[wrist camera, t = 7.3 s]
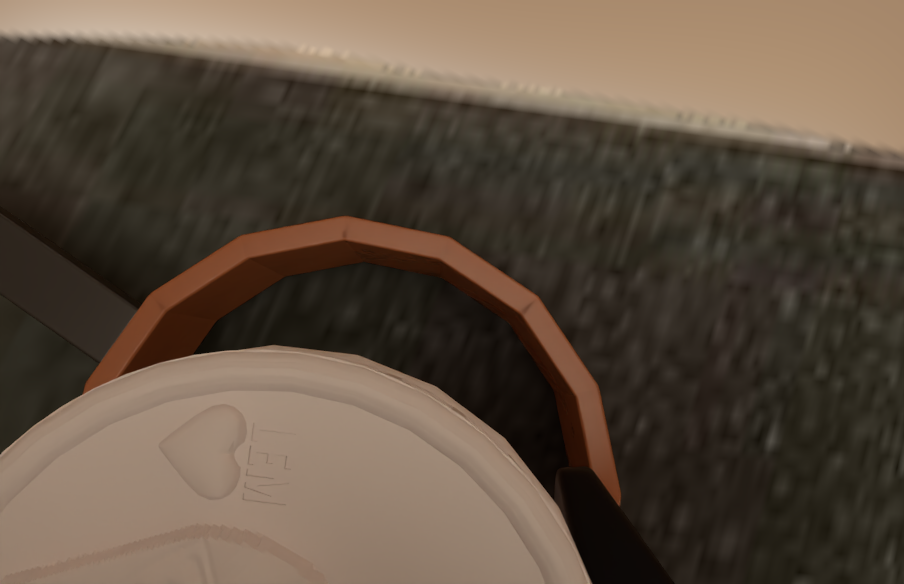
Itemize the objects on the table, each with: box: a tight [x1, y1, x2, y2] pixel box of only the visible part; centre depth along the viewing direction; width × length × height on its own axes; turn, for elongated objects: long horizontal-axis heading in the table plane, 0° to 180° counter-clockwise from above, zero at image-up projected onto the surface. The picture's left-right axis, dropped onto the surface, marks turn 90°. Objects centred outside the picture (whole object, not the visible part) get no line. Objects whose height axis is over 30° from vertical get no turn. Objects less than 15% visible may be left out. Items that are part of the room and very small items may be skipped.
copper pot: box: [0, 206, 621, 507], centre depth 20 cm, size 20×13×4 cm, turn 56°
